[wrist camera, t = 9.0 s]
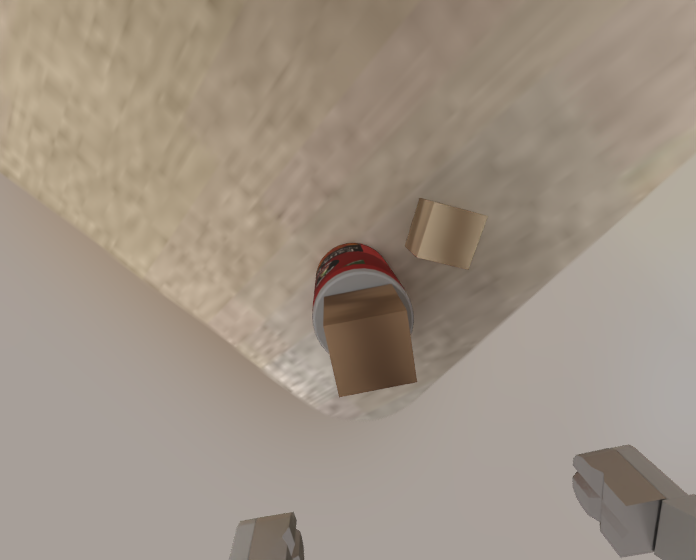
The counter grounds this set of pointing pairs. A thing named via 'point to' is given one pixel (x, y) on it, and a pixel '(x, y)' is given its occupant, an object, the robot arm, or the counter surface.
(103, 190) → the counter surface
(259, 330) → the counter surface
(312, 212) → the counter surface
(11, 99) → the counter surface
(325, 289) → the canned food
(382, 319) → the walnut block
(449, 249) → the oak block
